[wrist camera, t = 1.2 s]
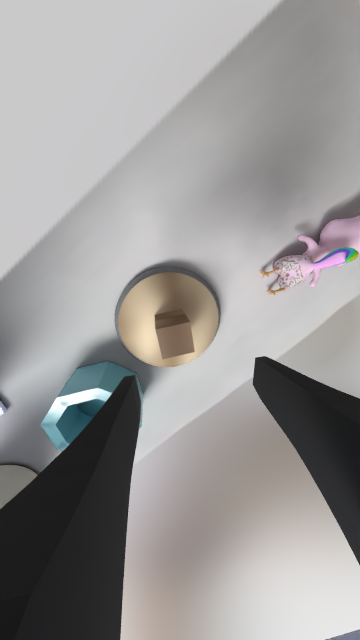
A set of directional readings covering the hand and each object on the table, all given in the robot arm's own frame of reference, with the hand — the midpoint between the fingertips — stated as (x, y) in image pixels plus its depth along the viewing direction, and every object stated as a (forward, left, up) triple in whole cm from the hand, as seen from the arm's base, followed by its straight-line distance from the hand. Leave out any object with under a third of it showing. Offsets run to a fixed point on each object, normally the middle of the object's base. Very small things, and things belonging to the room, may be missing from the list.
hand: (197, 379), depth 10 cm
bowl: (-11, -8, -11) cm, 17 cm away
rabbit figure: (+18, +5, -11) cm, 22 cm away
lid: (-1, 0, -10) cm, 10 cm away
